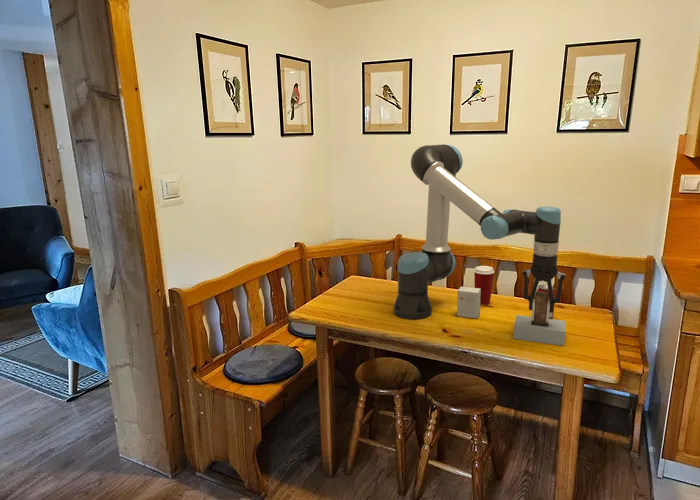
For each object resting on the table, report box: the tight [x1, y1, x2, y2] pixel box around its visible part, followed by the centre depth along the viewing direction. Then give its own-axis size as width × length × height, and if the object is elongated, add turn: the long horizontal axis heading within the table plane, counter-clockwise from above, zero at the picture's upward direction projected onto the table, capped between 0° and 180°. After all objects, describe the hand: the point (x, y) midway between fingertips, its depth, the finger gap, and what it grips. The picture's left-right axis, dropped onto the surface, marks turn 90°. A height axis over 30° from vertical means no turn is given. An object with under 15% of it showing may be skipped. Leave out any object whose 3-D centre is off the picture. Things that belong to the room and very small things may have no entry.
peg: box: [533, 291, 548, 327], centre depth 162 cm, size 4×4×14 cm
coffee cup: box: [472, 265, 495, 306], centre depth 196 cm, size 8×8×15 cm
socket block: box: [512, 314, 566, 347], centre depth 164 cm, size 16×10×5 cm, turn 67°
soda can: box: [536, 284, 556, 319], centre depth 180 cm, size 7×7×12 cm
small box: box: [456, 286, 481, 319], centre depth 184 cm, size 8×6×10 cm
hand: (539, 319), depth 163 cm, fingers closed on peg, 4 cm apart
